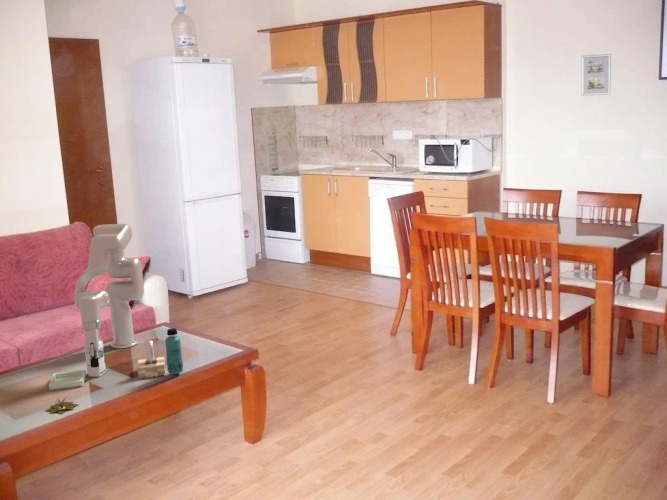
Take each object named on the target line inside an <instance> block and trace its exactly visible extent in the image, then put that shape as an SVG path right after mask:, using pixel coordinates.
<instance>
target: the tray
mask: <svg viewBox="0 0 667 500" xmlns="http://www.w3.org/2000/svg"><path fill="white" fill-rule="evenodd" d="M86 378H87V369H79V370H73V371H72V370H71V371H64V372H56V373H55V372H54V373H53V374H52V377H51V379H50V381H49V383H48V390H49V391H58V390H65V389H72V388H81V387H84V384H85V381H86Z"/></svg>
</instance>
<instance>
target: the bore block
mask: <svg viewBox="0 0 667 500" xmlns="http://www.w3.org/2000/svg"><path fill="white" fill-rule="evenodd" d="M154 359H155V364H149V365H147V358H139V359H138V361H137V366H136V367H137V368H136V369H137V379H146V378H154V377H153V376H155V377H159V376H158V375H163V376H165V375H166V360H165V356H159V357H158V356H157V357H154ZM164 374H165V375H164Z"/></svg>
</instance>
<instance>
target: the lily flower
mask: <svg viewBox="0 0 667 500" xmlns="http://www.w3.org/2000/svg"><path fill="white" fill-rule="evenodd" d="M66 399H67V397H66V396H64V397H63V399H62V400H60V398H59V397H57V398H56V401H55V402H54V404H53V405H51V407H48V408H47V409H46V410H44V411H47V412H48V411H49V412H50V414H53V413H56V412H57V413H59V414H61V415H62V414H64V413H65V412H66V411H67V410H72V411H73V410H74V408H75V407H77V406H79V404H77V403H74V401H67V400H66ZM50 414H49V415H50Z"/></svg>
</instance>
